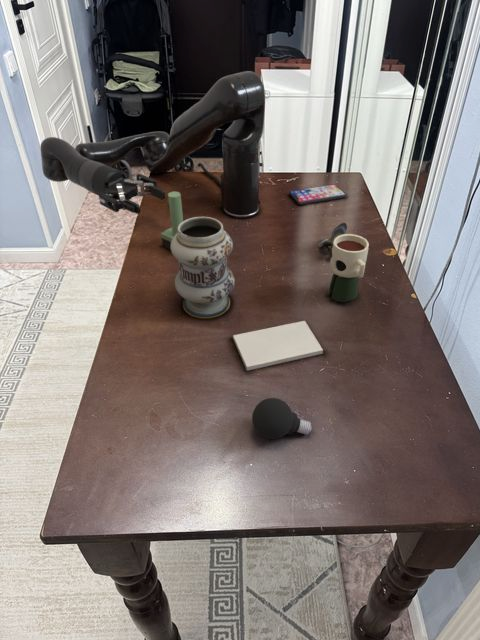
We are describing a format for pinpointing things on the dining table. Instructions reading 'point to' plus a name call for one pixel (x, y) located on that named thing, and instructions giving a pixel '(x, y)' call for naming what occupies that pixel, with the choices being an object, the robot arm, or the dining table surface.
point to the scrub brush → (173, 218)
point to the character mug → (347, 266)
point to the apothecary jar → (203, 266)
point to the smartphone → (317, 194)
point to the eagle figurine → (329, 242)
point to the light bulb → (277, 419)
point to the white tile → (276, 345)
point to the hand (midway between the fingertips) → (151, 202)
